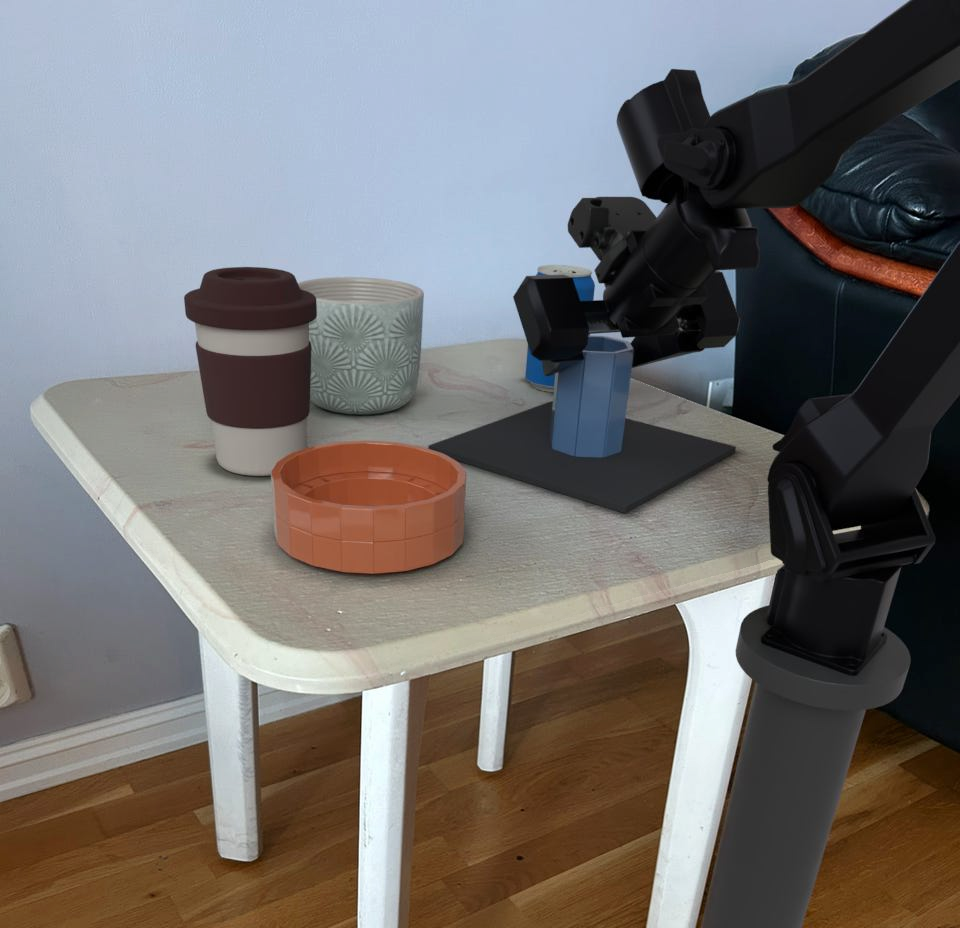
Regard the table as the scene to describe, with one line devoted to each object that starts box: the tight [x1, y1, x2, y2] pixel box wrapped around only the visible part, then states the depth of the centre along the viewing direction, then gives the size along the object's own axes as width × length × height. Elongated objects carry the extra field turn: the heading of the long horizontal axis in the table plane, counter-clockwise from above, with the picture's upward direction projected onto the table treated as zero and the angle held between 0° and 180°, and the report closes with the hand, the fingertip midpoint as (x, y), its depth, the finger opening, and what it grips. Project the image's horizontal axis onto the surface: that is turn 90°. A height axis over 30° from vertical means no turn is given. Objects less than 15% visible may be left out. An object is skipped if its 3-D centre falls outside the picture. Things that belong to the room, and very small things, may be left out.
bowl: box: [270, 439, 467, 575], centre depth 69 cm, size 13×13×5 cm
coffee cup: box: [183, 266, 317, 477], centre depth 78 cm, size 10×10×15 cm
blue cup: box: [550, 334, 634, 458], centre depth 86 cm, size 6×6×9 cm
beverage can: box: [524, 264, 596, 393], centre depth 104 cm, size 6×6×12 cm
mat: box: [427, 400, 737, 514], centre depth 88 cm, size 20×20×1 cm
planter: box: [297, 276, 425, 416], centre depth 95 cm, size 12×12×11 cm
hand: (584, 367), depth 86 cm, fingers open, 8 cm apart
